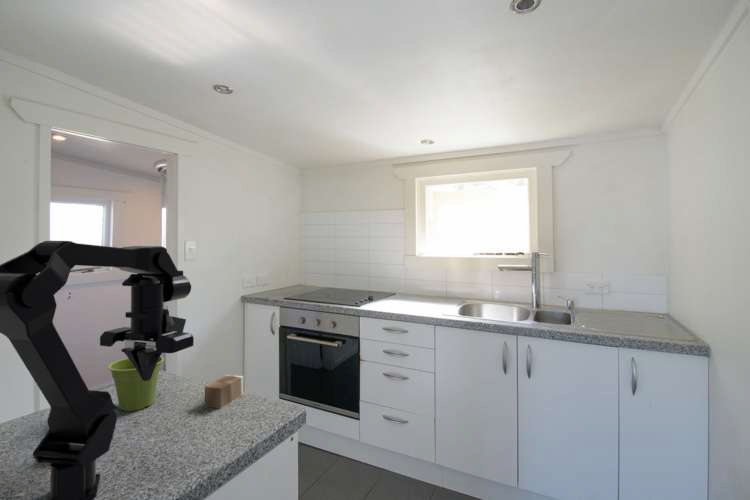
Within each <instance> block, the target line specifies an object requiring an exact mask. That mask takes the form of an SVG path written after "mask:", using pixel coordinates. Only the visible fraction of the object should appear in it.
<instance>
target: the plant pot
mask: <svg viewBox="0 0 750 500" xmlns="http://www.w3.org/2000/svg"><path fill="white" fill-rule="evenodd" d="M164 361H165V357H163V356H162V355H160V357H159V359H158V362H157V364H156V366H155V369H154V372H153V374H152V377H151V379H150V380H148V381H143V380H142V378H141V376H140V375H139V373H138V372H137V370H136V368H135V367H134V365H133V364H132V362H131V361H130V360H129V358H128V357H127V358H123V359H119V360H116V361H114V362H112V363H110V364H109V365H108V366H107V368H108V370H110V372H111V377H112V379H113V382H114V385H115V391H116V395H117V400H118V404H119V405H118V406H119V409H120V410H121V411H124V412H134V411H140V410H143V409H145V408H146V407H150V406H151V405H153V404H154V402H155V397H156V390H157V384H158V378H159V374H160V370H161V367H162V363H163V362H164Z"/></svg>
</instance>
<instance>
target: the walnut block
mask: <svg viewBox="0 0 750 500" xmlns="http://www.w3.org/2000/svg"><path fill="white" fill-rule="evenodd" d="M242 395H244V375H236V374H229V373H228V374H226V375H224V376H222V377H220V378H219V379H216V380H214V381H213V382H211V383H209V384H207V385H205V386H204V406H205V407H210V408H216V409H222V408H224V407H226V406H227V405H229V404H230V403H232V402H233V401H235V400H236V399H238V398H240V397H241V396H242Z"/></svg>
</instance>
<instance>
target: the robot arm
mask: <svg viewBox="0 0 750 500" xmlns="http://www.w3.org/2000/svg"><path fill="white" fill-rule="evenodd" d="M167 250H168V249H167V248H166V247H164V246H160V245H159V246H157V245H156V246H155V245H154V246H152V245H151V246H150V245H131V246H122V247H117V246H106V245H98V244H87V243H77V242H74V241H71V240H44V241H42V242H39V243H37V244H35V245H34V246H33V247H32V248H30V249H29V250H28V251H27V252H24V253H22V254H19V255H18V256H16V257H13V258H11V259H9V260H7V261H5V262H4V263H1V264H0V334H1V335H4V336H5V337H6V338H7V339H8V340H9V342H10V343H11V345H12V347H13V348H14V350H15V352H16V353H17V354H18V356H19V357H20V359H21V361H22V362H23V364H24V366H25V368H26V369H27V371H28V372H29V374H30V375H31V377H32V379H33V381H34V382H35V384H36V385H37V387H38V389H39V390H40V392H41V393H42V395H43V396H44V398H45V399H46V402H47V403H48V404H49V406H50V410H49V413H48V417H47V420H46V421H47V426H48V431H47V432H46V434H45V435H44V437H43V438H42V439H41V440H40V442H39V443H38V445H37V446H36V448H35V450H33V452H32V456H33V458H34V461H35V462H36V463H38V464H41V463H44V464H49V479H50V480H49V492H48V495H47V498H46V499H45V500H94V499H95V498H96V497H97V495H98V490H99V485H100V481H101V474H100V473H97V471H96V469H97V463H96V462H97V459H99V458H100V457H101V456H103V455H105V454H106V453H108V452H109V450H110V448H111V447H110V446H111V444H112V440H113V439H112V437H113V438H114V432H115V429H116V425H117V421H118V416H117V412H116V410H118V405H116V404H114V403H113V399H112V396H111V394H110V392H109V391H105V390H104V391H103V390H90V389H89V388H88V386H87V384H86V382H85V380H84V378H83V377H82V375H81V373H80V371H79V370H78V367H77V366H76V364H75V363H74V360H73V358H72V357H71V354H70V353H69V351H68V349H67V346H66V345H65V343H64V341H63V340H62V337H61V335H60V334H59V332H58V331H57V328H56V326H55V325H54V322H53V321H54V316H55V314H56V310H57V301H56V297H55V294H57V293H58V292H59V291H60V290H61V289H62V288H63V287H64V286H66V284H67V282H68V278H69V276H70V273H71V270H72V269H73V268H74V267H77V266H79V267H82V266H83V267H103V268H105V267H107V268H115V269H116V268H117V269H119V270H120V271H123V272H126V273H127V272H128V273H131V274H130V275H129V276H128V277H127V278H126V279H125V280H124V281H123V282H122V283H121V286H122V287H130V311H126V312H125V313H124V314H125V318H127V319H130V327H129V326H127V327H126V326H122V327H118V328H114V329H110V330H105V331H104V332H103V333H102V334H101V335H100V336H99V346H101V347H113V346H114V345H115V343H117V342H124V348H121V353H124V354H125V356H126V357H127V358H129V360H130V361H131V362H132V364H133V365H134V367H135V368H136V370H137V372H138V373H139V375H140V376H141V378H142V380H143V381H148V380H150V379H151V377H152V374H153V372H154V369H155V366H156V364H157V362H158V359H159V357H160V356H162V354H174V353H177V352H181V351H182V350H183V351H184V350H185V349H188V348H191V347H193V346H194V343H195V342H194V339H195V338H194V335H193V334H192V333H191V332H184V329H185V326H186V321H187V319H186V318H182V317H178V316H173V315H172V316H171V315H170V310H169V308H164V303H167V302H173V301H177V300H182V299H185V298H187V296H189V295H190V293H191V290H192V284H191V282H190V280H189V278H187V276H185V275H184V270H178V269H177V267H176V264H175V263H174V260H173V259H172V257H171V255H170V254H169V252H168V251H167ZM164 334H165V335H164ZM69 443H74V444H69ZM76 444H85V445H76ZM96 473H97V474H96Z"/></svg>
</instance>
